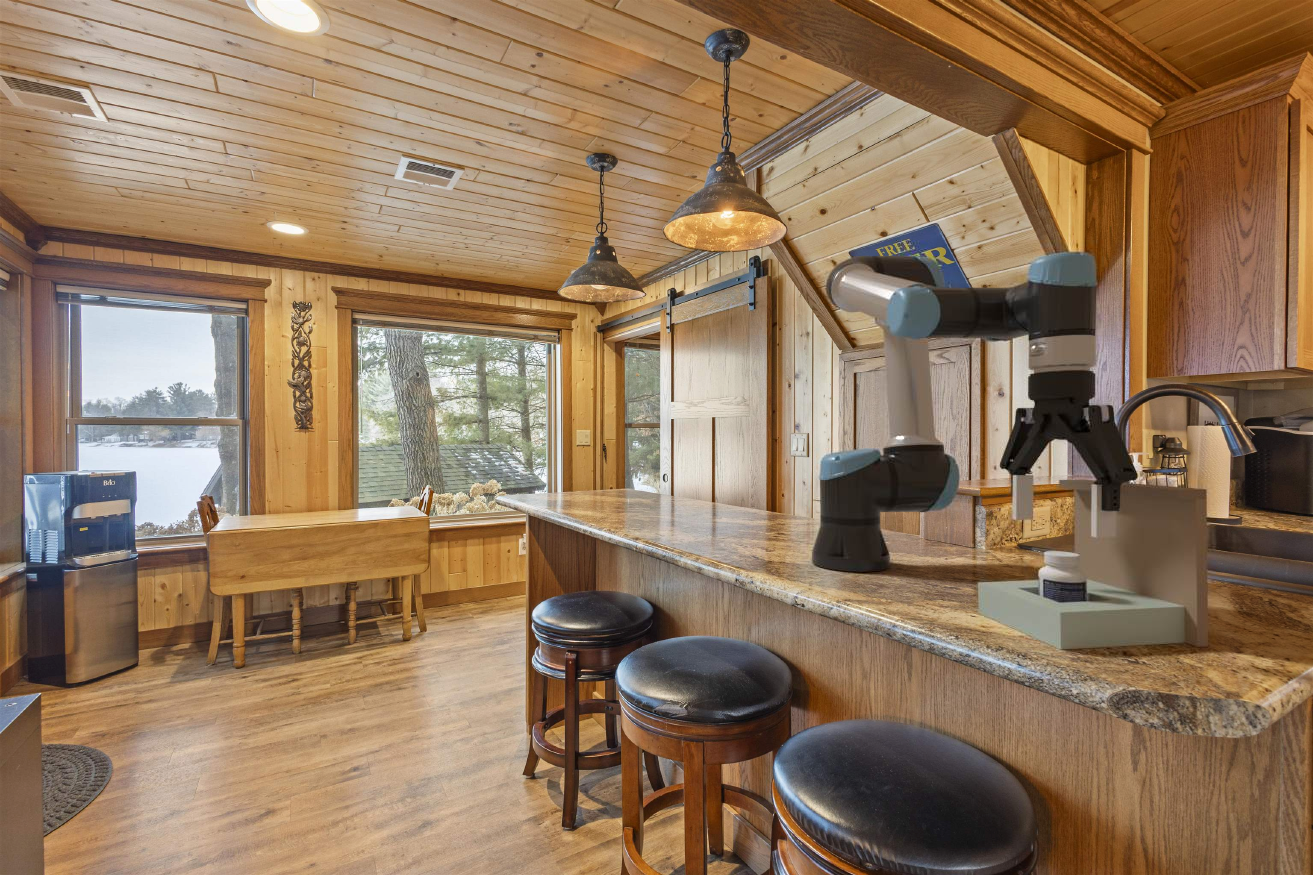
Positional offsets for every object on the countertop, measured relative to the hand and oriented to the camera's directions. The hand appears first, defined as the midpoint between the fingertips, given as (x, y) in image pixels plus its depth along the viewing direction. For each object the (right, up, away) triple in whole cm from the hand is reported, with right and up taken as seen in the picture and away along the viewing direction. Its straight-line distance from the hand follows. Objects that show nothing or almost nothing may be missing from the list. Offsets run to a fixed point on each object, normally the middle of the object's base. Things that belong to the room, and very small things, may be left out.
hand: (1059, 527), depth 80 cm
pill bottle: (0, -13, 0) cm, 13 cm away
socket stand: (+2, -13, 0) cm, 14 cm away
